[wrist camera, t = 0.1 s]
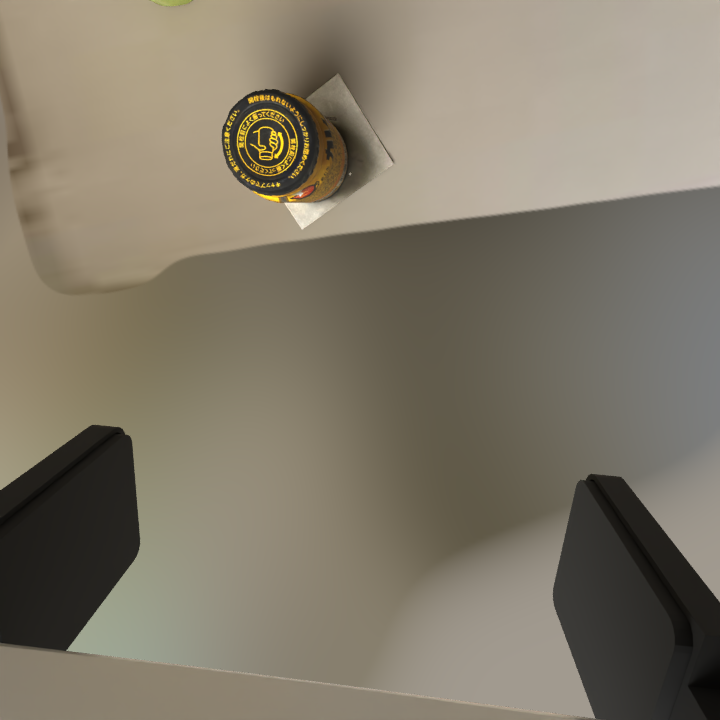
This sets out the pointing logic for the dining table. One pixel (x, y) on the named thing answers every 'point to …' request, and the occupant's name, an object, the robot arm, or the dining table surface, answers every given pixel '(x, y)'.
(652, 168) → the dining table surface
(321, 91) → the condiment
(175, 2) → the plant pot
